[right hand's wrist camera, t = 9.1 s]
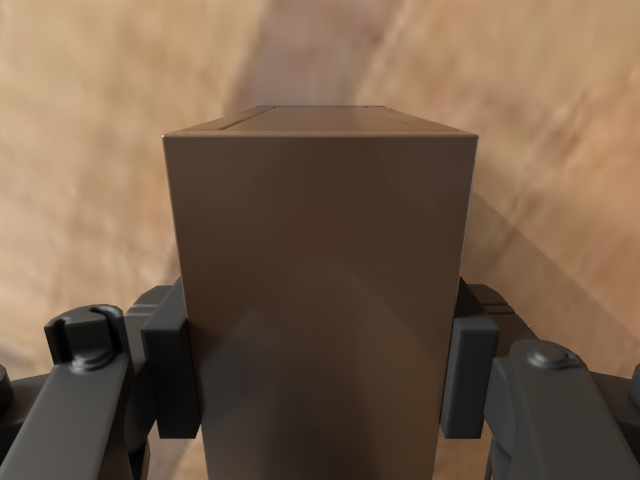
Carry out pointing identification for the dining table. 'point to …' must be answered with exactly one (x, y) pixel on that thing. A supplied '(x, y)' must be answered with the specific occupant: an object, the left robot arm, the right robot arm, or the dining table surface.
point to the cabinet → (320, 286)
